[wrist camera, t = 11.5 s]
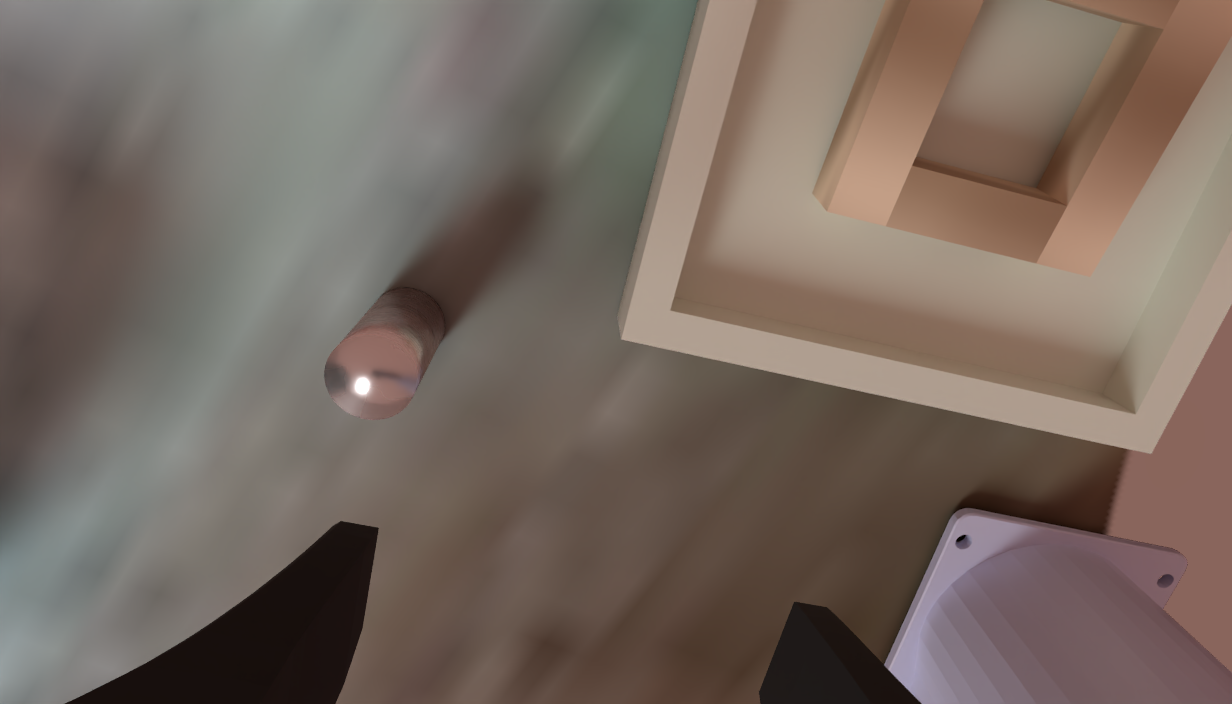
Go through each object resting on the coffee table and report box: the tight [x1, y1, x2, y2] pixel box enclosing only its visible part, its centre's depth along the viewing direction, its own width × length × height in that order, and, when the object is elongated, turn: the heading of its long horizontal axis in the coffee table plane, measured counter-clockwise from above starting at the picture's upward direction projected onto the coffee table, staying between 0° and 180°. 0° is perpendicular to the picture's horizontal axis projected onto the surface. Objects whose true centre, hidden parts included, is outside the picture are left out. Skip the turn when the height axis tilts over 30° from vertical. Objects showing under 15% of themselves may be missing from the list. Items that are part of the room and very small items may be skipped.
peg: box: [324, 288, 445, 420], centre depth 19 cm, size 2×2×4 cm
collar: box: [812, 0, 1232, 277], centre depth 16 cm, size 10×7×4 cm
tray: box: [617, 0, 1232, 454], centre depth 18 cm, size 15×15×2 cm
